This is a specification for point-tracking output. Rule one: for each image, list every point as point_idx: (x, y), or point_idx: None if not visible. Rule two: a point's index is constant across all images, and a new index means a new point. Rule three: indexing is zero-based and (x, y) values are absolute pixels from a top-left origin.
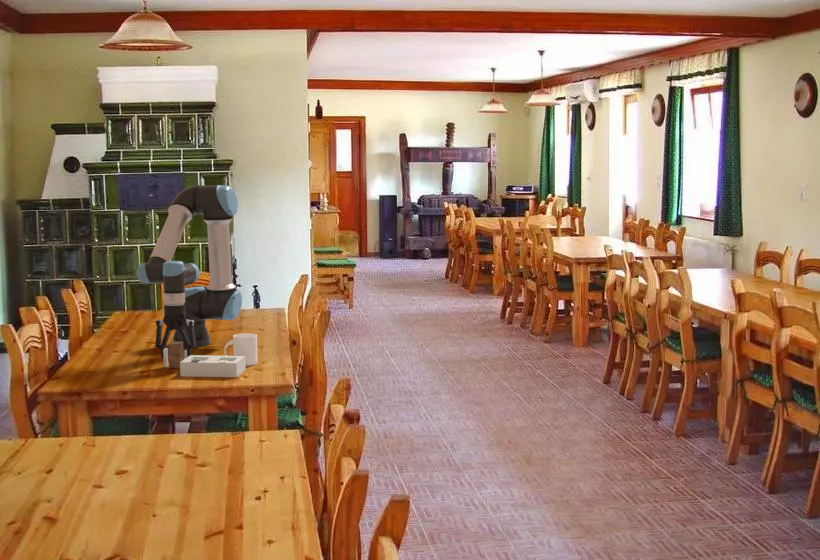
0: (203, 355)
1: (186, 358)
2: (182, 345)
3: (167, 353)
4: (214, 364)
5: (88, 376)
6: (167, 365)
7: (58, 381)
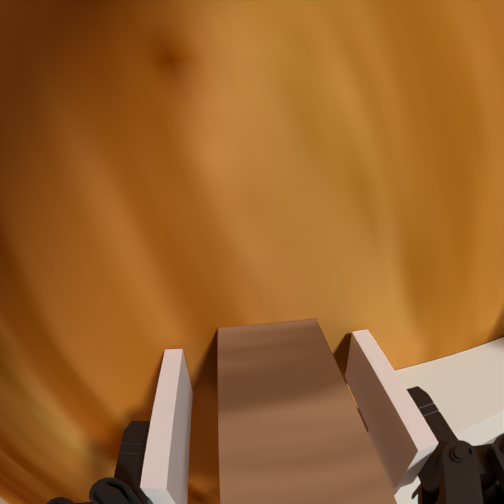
0: (501, 412)
1: (396, 497)
2: (382, 494)
3: (173, 444)
4: None
5: (6, 475)
6: (185, 367)
7: (2, 494)
